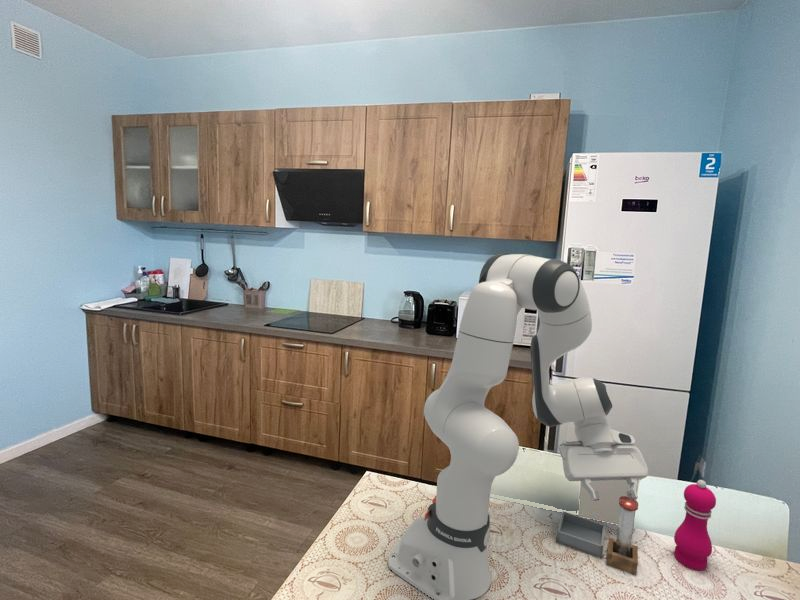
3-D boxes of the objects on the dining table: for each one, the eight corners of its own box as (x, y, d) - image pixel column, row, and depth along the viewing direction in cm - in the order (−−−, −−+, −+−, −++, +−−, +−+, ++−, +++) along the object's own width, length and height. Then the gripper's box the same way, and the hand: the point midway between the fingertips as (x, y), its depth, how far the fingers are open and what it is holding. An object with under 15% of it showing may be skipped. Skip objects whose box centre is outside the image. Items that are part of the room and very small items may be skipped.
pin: (611, 563, 97) (619, 503, 94) (612, 553, 100) (619, 494, 98) (630, 570, 95) (638, 508, 93) (630, 559, 98) (638, 499, 96)
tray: (556, 542, 103) (557, 531, 102) (561, 521, 111) (562, 511, 110) (601, 558, 98) (603, 547, 98) (604, 535, 106) (605, 524, 105)
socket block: (606, 564, 96) (607, 552, 96) (607, 548, 101) (608, 537, 101) (636, 575, 93) (637, 563, 93) (636, 558, 99) (637, 546, 98)
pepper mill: (715, 575, 94) (729, 492, 91) (679, 569, 96) (691, 487, 93) (699, 552, 101) (711, 474, 98) (666, 546, 103) (677, 469, 100)
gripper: (562, 437, 105) (578, 497, 97) (639, 436, 107) (662, 495, 99) (552, 445, 110) (567, 503, 102) (627, 444, 112) (647, 501, 104)
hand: (614, 499), depth 101 cm, fingers open, 8 cm apart
